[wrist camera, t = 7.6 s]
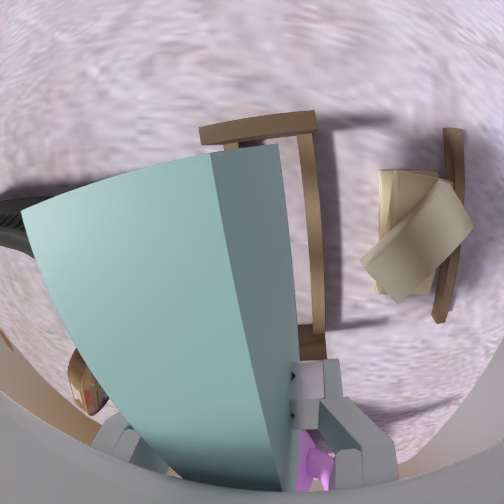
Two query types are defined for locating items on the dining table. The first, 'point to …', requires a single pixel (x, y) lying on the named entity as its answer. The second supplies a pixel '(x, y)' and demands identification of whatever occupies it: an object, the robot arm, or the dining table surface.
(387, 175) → the offcut bottom
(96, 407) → the tin
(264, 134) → the rack
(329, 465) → the teapot
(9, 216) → the magazine
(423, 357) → the dining table surface
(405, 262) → the offcut top
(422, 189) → the offcut middle
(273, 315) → the board
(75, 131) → the dining table surface
